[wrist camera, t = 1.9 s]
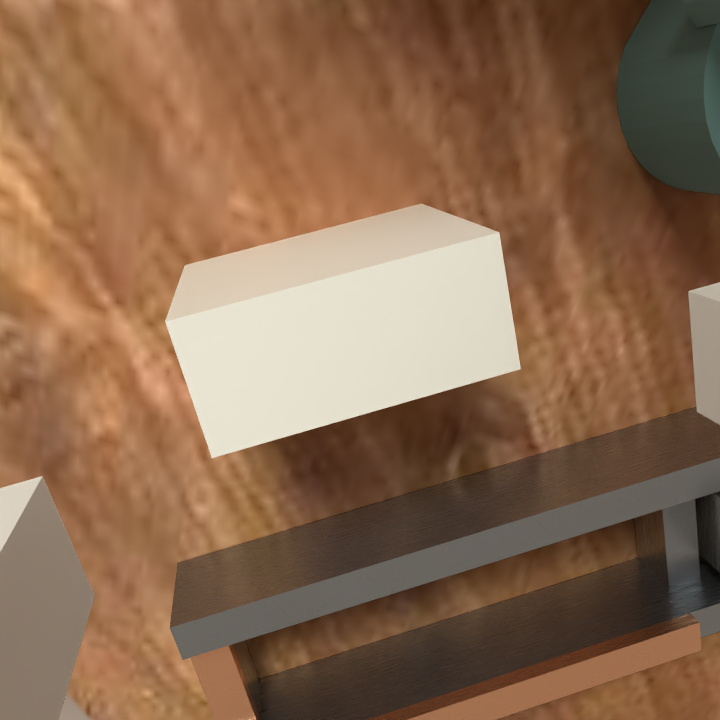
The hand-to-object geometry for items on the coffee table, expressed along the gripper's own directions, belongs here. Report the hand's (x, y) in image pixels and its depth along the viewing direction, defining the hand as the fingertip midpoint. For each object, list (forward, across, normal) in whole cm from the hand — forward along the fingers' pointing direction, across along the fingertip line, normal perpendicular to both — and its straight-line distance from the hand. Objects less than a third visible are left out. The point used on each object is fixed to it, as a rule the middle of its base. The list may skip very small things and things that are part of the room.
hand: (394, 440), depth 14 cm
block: (+13, 0, 0) cm, 13 cm away
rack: (+13, +9, -14) cm, 21 cm away
